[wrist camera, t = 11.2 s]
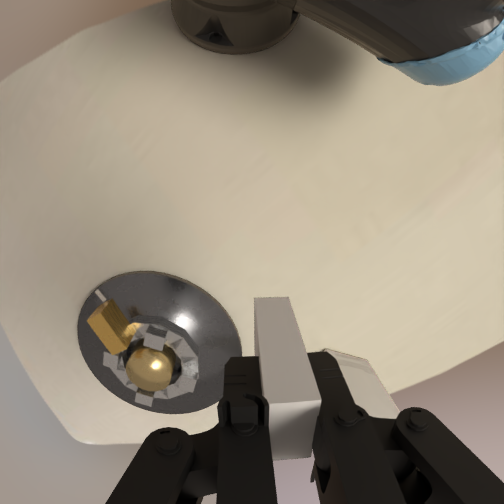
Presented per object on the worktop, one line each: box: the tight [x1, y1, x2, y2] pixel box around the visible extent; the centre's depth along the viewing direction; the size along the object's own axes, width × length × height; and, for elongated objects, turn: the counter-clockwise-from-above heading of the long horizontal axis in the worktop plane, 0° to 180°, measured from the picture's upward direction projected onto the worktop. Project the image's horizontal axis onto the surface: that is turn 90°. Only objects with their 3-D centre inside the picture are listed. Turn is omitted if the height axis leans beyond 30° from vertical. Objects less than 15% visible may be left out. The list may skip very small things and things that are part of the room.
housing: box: [78, 271, 242, 414], centre depth 40 cm, size 24×24×6 cm
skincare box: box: [324, 349, 400, 419], centre depth 37 cm, size 8×7×16 cm
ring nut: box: [87, 298, 200, 407], centre depth 38 cm, size 17×13×6 cm
